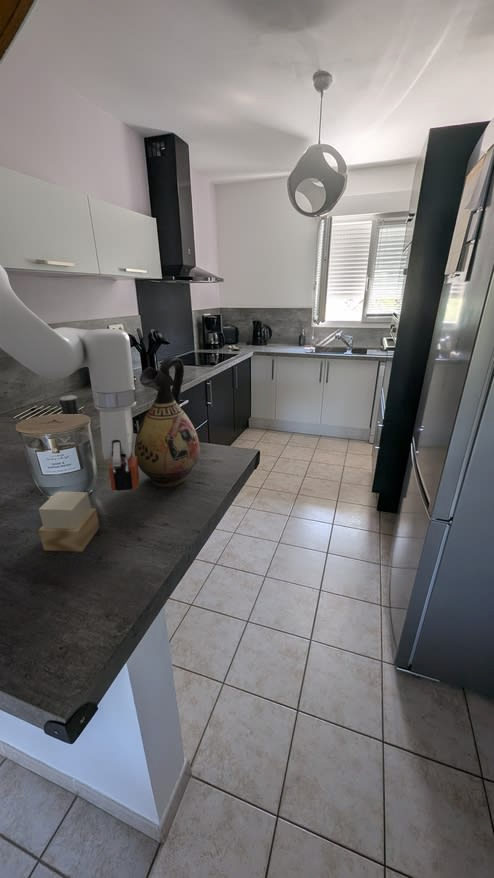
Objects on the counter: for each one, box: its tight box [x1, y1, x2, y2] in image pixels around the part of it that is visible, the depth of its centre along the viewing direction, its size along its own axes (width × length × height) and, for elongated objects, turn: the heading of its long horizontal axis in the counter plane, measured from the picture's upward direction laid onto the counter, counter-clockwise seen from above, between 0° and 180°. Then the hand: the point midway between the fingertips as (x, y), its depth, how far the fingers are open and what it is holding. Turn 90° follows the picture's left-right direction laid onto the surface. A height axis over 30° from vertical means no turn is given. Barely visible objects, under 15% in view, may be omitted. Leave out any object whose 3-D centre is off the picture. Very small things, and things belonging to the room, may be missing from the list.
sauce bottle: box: [58, 395, 81, 415], centre depth 90 cm, size 6×6×20 cm
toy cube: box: [108, 455, 140, 491], centre depth 73 cm, size 5×5×5 cm
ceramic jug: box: [134, 356, 201, 488], centre depth 84 cm, size 17×15×30 cm
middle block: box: [38, 491, 92, 529], centre depth 65 cm, size 6×6×4 cm
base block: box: [38, 507, 101, 553], centre depth 67 cm, size 7×7×4 cm
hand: (125, 481), depth 74 cm, fingers closed on toy cube, 5 cm apart
